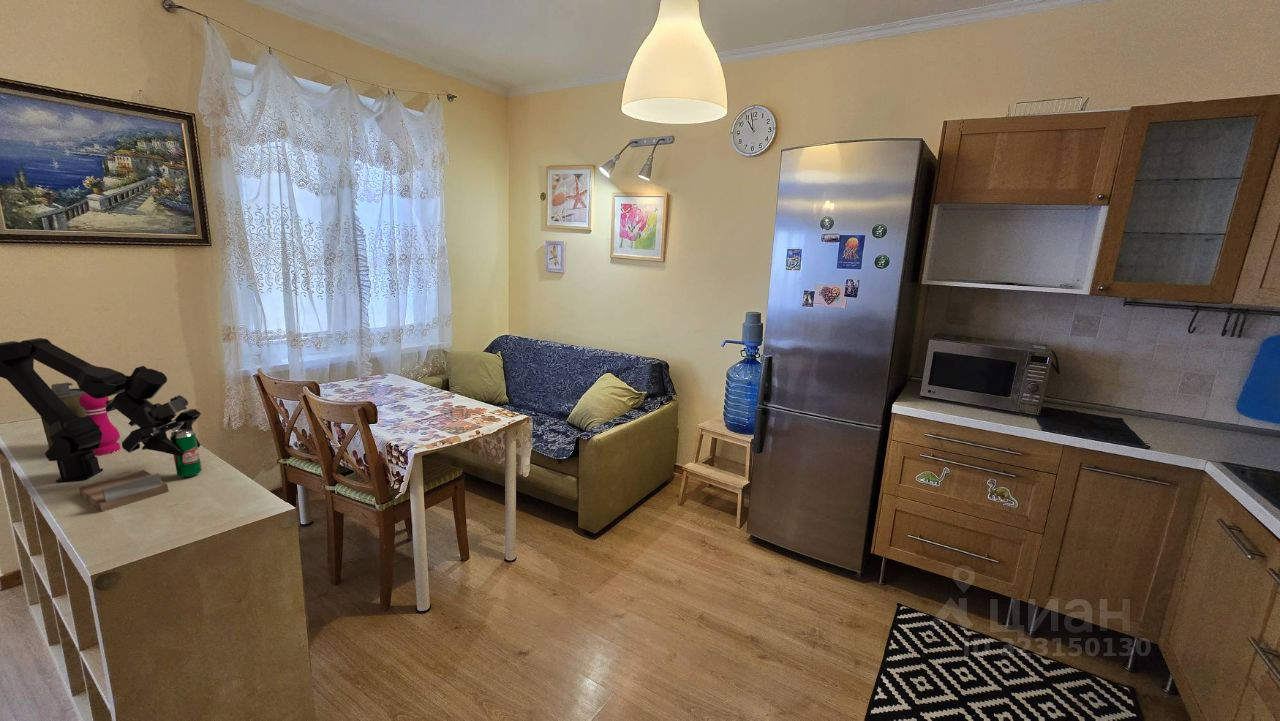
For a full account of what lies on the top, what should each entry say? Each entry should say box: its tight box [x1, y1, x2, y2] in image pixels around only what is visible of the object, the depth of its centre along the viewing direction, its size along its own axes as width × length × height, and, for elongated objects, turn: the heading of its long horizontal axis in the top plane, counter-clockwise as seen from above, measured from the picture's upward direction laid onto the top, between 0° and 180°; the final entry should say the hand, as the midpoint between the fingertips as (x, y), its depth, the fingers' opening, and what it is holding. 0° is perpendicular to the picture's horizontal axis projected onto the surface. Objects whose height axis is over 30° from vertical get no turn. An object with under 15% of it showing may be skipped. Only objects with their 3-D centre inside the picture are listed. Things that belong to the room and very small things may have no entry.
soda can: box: [169, 428, 203, 478], centre depth 137 cm, size 5×5×12 cm
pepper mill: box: [79, 393, 121, 456], centre depth 152 cm, size 7×7×20 cm
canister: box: [39, 382, 87, 449], centre depth 155 cm, size 11×10×20 cm
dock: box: [78, 469, 170, 512], centre depth 128 cm, size 16×12×5 cm
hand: (191, 450), depth 137 cm, fingers closed on soda can, 5 cm apart
